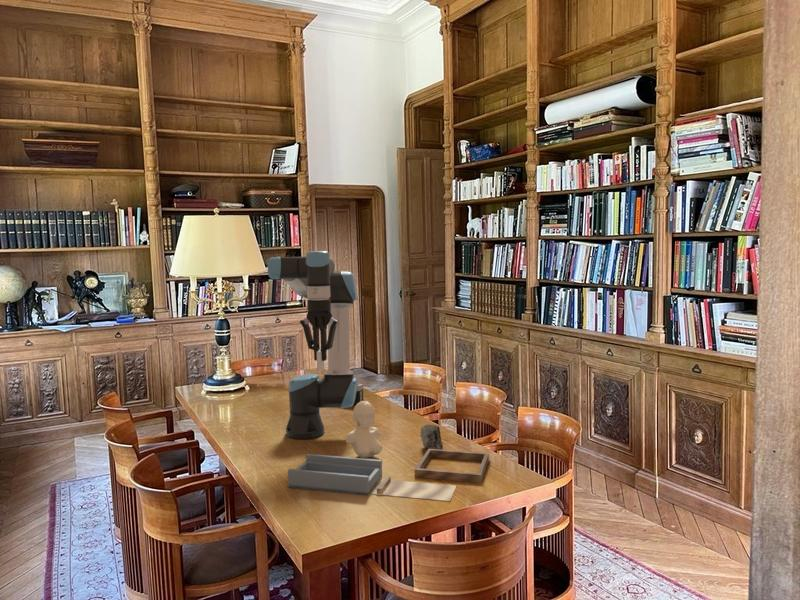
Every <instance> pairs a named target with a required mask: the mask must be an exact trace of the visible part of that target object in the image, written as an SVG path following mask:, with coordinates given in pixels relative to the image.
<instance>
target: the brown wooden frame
mask: <svg viewBox="0 0 800 600" xmlns="http://www.w3.org/2000/svg"><path fill="white" fill-rule="evenodd" d="M431 458H440V459H453V460H464V461H465V460H466V461H474V462H475V461H477V462H481V464H480V465H479V468H478V471H477V472H467V471H466V472H465V471H454V470H442V469H430V468H425V467H426V466H427V464H428V463H429V461H430V460H431ZM489 461H490V453H487V452H477V451H462V450H461V451H460V450H450V449H443V450H439V449H428V448H427V450H426V451H425V453H424V454H423V456H422V457H421V459H420V461H419V462H418V463H417V465H416V467H415V469H414V478H424V479H436V480H444V481H445V480H446V481H456V482H457V481H458V482H466V483H468V482H470V483H480V484H481V483H482V481H483V478H484V475H485V472H486V469H487V467H488V464H489ZM427 462H428V463H427Z"/></svg>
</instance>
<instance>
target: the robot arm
mask: <svg viewBox="0 0 800 600" xmlns="http://www.w3.org/2000/svg"><path fill="white" fill-rule="evenodd" d="M335 268H336V265H335V263H334V260H333V259H332V258H331V257H330V253H329V252H328V251H327V250H319V251H317V250H315V251H314V250H313V251H311V250H310V251H308V252H306V254H305V256H281V255H280V256H275V257H274V256H272V257H270V258H269V259H268V260H267V274H268V277H269V278H270V279H271V280H282V281H284V282H285V283H286V284H287V285H289V286H290V288H291V290H292V292H294V293H295V294H296V295H297V296H300V297H301V298H305V299H307V303H306V305H307V306H306V307H307V314H306V317H305V318H304V319H301V320H299V322H300V324H301V326H302V328H303V332H304V336H305V339H306V343H307V347H308V350H312V351H313V360H314V361H316V371H317V372H322V371H324V370H325V361H327V369H326V371H325V372H324V373H323V378H322V377H320V376H319V375H318V373H308V374H301V375H298V376H295V377H293V378H291V379H290V380H289V381H288V382H289V385H288V386H289V387H288V397H289V398H288V399H289V400H288V401H289V418H288V420H287V424H286V428H285V436H287V437H288V438H290V439H295V440H307V439H309V440H310V439H315V438H319V437H321V436H322V435H324V434H325V426H324V425H325V424H324V422H323V420H322V417H321V413H320V409H323V408H324V409H325V408H326V409H328V408H329V409H333V408H334V409H335V408H336V409H339V408H340V409H343V408H347V409H348V408H352V407H353V406H354V405H353V404H354V402H355V397H356V391H357V383H358V378H356V377H354V372H353V371H352V370H351V369H350V367H351V366H350V361H351V359H350V357H351V356H350V353H351V352H350V350H351V349H350V339H351V338H350V309H352V307H353V306H354V301H357V300H358V292H357V285H356V279H355V275H354V274H353V273H352V272H350V271H345V270H344V271H341V270H340V271H339V270H338V271H335ZM310 325H311V327H310Z"/></svg>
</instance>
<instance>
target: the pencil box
mask: <svg viewBox="0 0 800 600" xmlns="http://www.w3.org/2000/svg"><path fill="white" fill-rule="evenodd" d="M380 479H383V460H382V459H376V458H375V459H374V458H361V457H350V456H349V457H348V456H337V455H325V454H315V453H313V454H312V453H307V454H306V455H305V460H304V462H302V463H301V464H299V466H298V467H296V468H289V469H287V482H288V483H287V484H288V488H291V489H301V490H310V491H311V490H312V491H319V492H320V491H321V492H330V493H341V494H349V495H350V494H352V495H353V494H354V495H362V496H369V495H370V492H371V491H372V490H373V488H374V487H375V486H376V484H377V483H378V482H379V480H380Z"/></svg>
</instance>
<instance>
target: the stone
mask: <svg viewBox="0 0 800 600" xmlns="http://www.w3.org/2000/svg"><path fill="white" fill-rule="evenodd" d="M420 438H421V441H422V445H423V447H424V448H426V449H427V450H428V449H439V450H444V447H443V446H444V445H443V442H442V437H441V429H440V427H439V425H434V424H425V425H423V426H421V427H420Z"/></svg>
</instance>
